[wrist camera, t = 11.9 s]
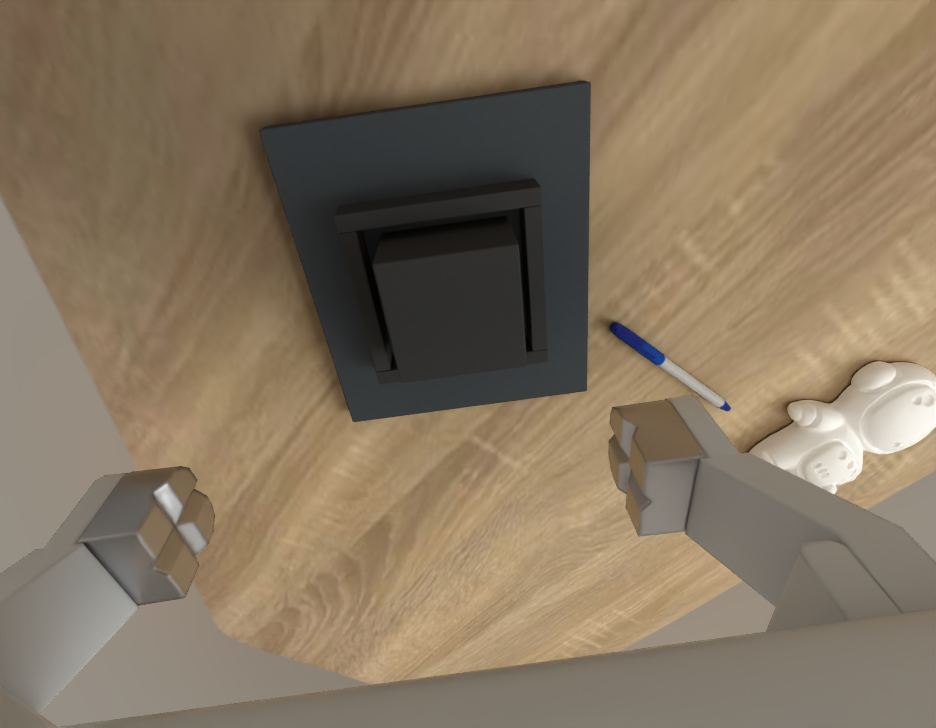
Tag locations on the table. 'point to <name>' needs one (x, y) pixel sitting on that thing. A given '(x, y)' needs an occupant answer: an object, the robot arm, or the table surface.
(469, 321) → the black box
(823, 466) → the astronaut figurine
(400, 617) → the table surface
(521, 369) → the socket base plate
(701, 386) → the ballpoint pen
